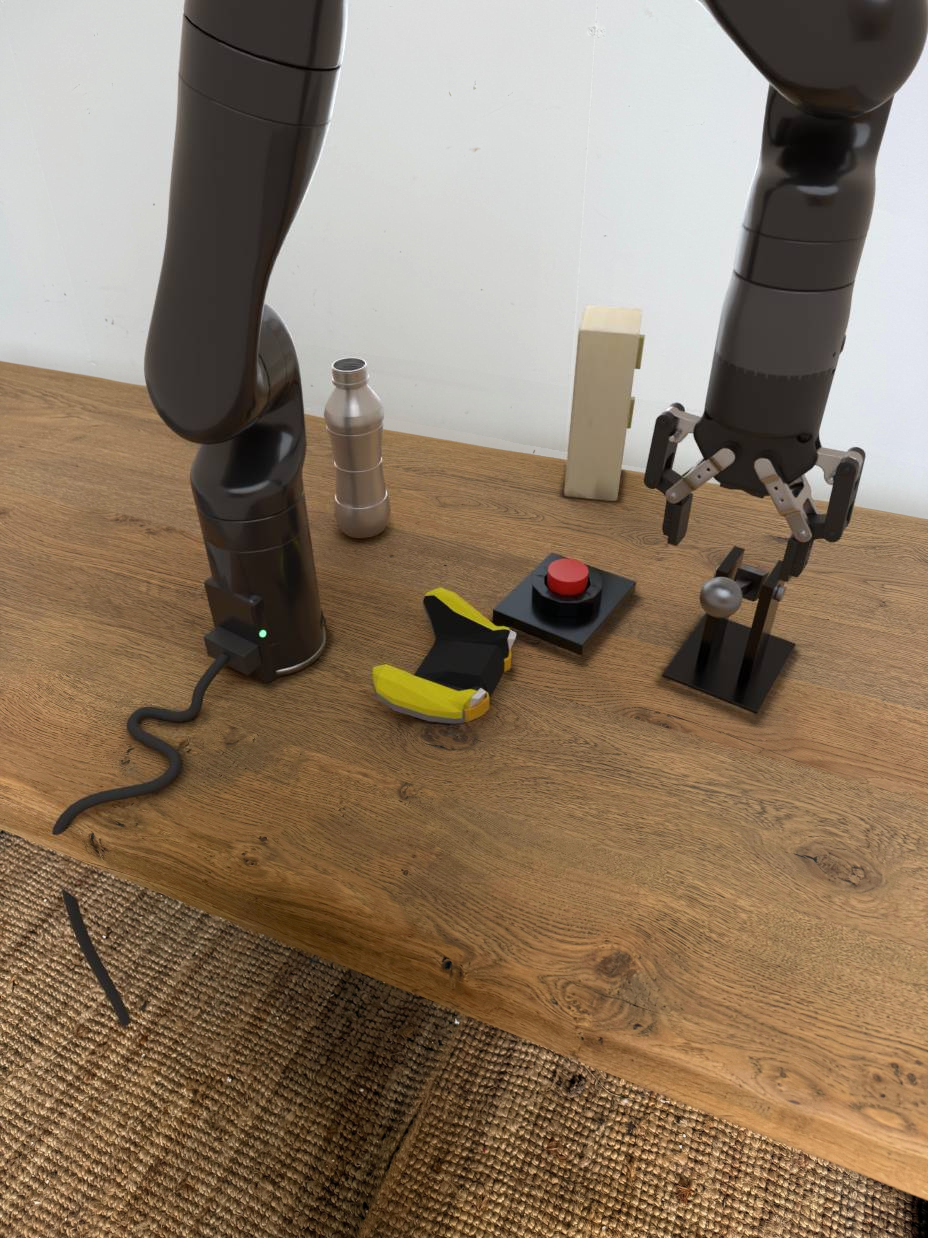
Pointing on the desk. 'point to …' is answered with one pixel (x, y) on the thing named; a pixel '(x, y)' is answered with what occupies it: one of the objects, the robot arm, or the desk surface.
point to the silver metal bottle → (357, 450)
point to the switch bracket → (735, 648)
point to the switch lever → (731, 591)
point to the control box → (564, 607)
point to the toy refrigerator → (602, 400)
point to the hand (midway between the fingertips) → (730, 557)
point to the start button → (567, 576)
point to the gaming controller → (450, 665)
